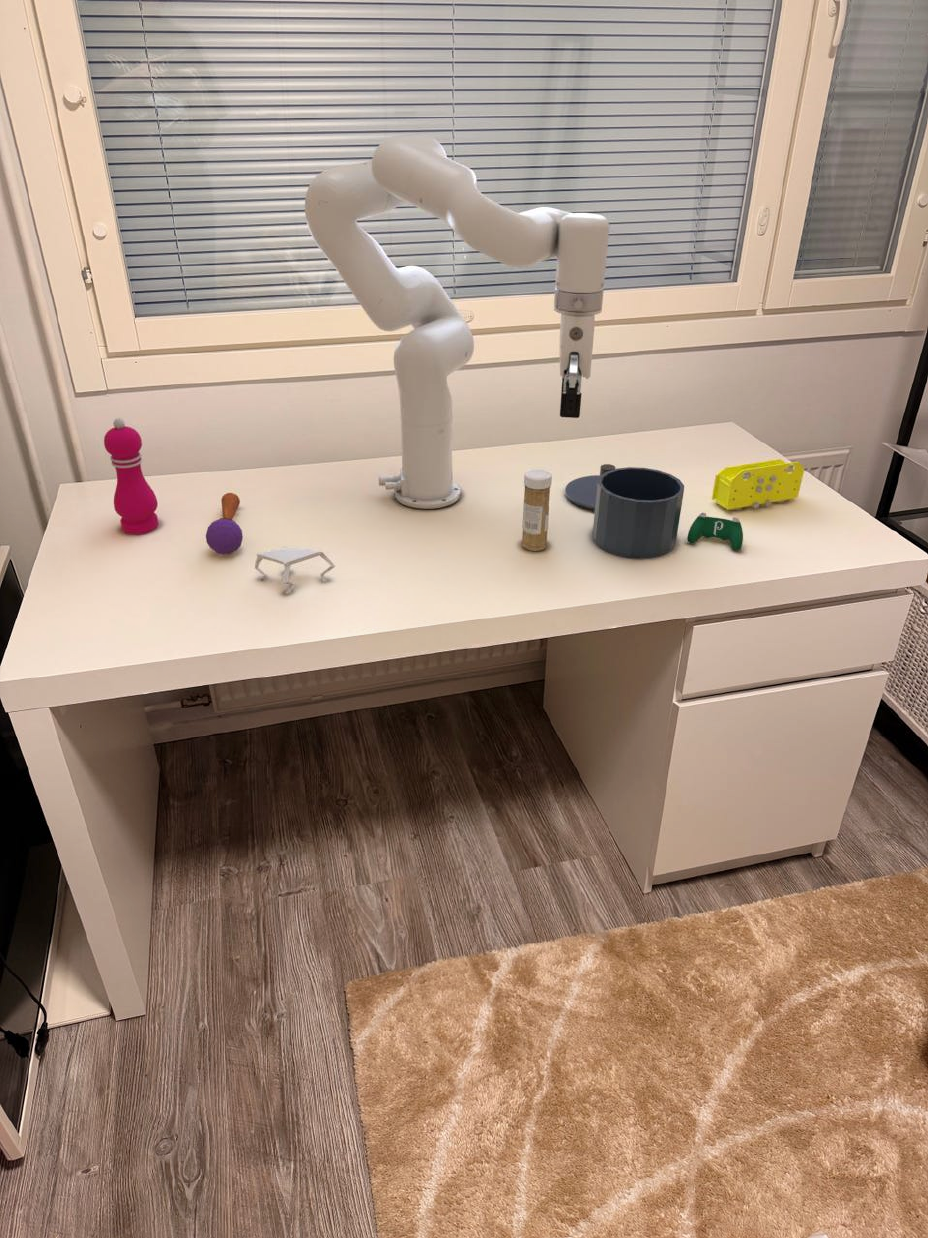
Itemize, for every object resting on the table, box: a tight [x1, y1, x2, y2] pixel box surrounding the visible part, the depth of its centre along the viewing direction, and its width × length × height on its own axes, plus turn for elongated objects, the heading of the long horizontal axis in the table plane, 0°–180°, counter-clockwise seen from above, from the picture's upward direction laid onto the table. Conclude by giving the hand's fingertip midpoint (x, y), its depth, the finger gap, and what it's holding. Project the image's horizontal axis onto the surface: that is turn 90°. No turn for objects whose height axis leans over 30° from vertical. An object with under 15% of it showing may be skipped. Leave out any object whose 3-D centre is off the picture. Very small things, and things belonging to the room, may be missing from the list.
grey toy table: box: [254, 546, 336, 595], centre depth 140 cm, size 12×8×5 cm
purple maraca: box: [205, 492, 244, 555], centre depth 154 cm, size 6×6×20 cm
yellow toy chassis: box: [711, 458, 805, 511], centre depth 166 cm, size 16×6×8 cm, turn 110°
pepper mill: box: [103, 417, 160, 535], centre depth 152 cm, size 7×7×20 cm
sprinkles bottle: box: [521, 468, 553, 552], centre depth 149 cm, size 5×5×13 cm
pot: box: [592, 466, 685, 559], centre depth 152 cm, size 14×15×10 cm
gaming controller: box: [686, 512, 744, 552], centre depth 154 cm, size 9×4×6 cm
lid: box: [564, 463, 616, 510], centre depth 168 cm, size 15×15×6 cm
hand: (569, 406), depth 147 cm, fingers open, 9 cm apart
